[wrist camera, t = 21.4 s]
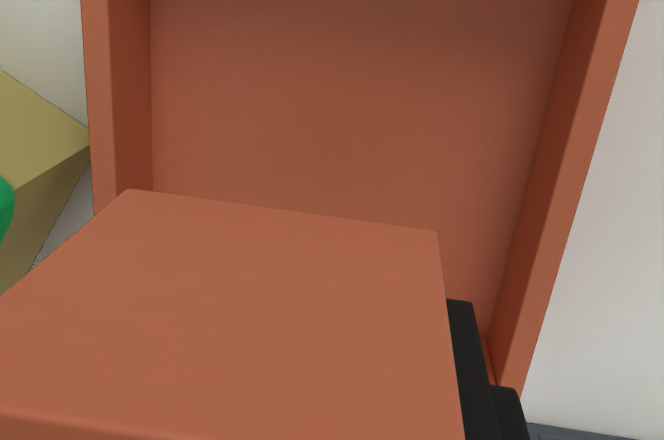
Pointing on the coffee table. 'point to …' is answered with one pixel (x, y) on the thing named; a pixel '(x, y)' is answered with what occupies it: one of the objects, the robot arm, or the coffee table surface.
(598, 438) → the grey bin
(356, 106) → the terracotta bin
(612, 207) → the coffee table surface
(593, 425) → the coffee table surface
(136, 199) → the block
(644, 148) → the coffee table surface
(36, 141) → the cake
